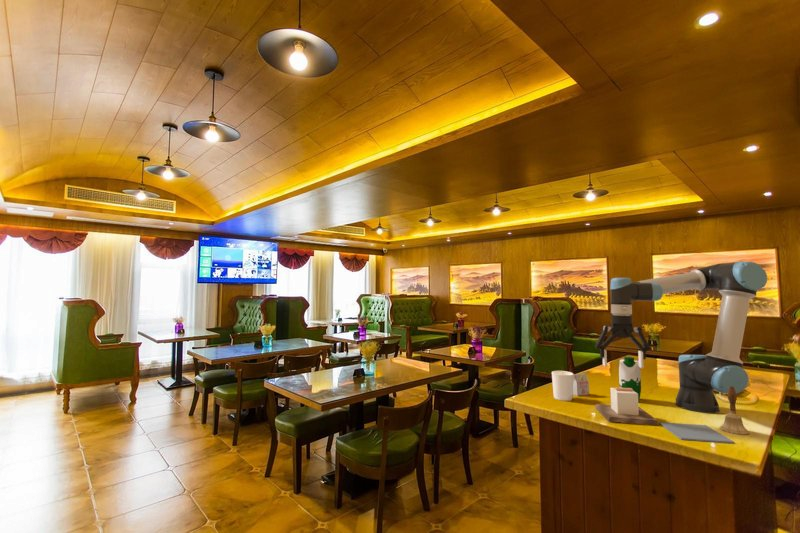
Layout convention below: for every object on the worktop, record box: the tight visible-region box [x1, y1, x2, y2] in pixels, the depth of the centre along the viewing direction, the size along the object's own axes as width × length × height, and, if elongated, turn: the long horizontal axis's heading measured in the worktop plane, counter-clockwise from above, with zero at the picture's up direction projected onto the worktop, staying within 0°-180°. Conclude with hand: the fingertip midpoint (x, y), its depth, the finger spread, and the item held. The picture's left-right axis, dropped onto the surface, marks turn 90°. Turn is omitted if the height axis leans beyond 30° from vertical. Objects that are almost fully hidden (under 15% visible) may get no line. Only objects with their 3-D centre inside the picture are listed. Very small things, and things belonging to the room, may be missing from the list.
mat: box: [658, 421, 735, 445], centre depth 136 cm, size 16×16×1 cm
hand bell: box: [719, 386, 750, 436], centre depth 139 cm, size 8×8×16 cm
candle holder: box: [551, 370, 574, 402], centre depth 179 cm, size 10×10×12 cm
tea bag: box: [573, 373, 590, 397], centre depth 185 cm, size 4×7×10 cm, turn 105°
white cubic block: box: [610, 387, 639, 415], centre depth 153 cm, size 8×8×9 cm
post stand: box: [595, 403, 659, 426], centre depth 153 cm, size 17×17×8 cm
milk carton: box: [618, 356, 642, 403], centre depth 178 cm, size 9×9×20 cm
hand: (622, 366), depth 154 cm, fingers open, 13 cm apart
